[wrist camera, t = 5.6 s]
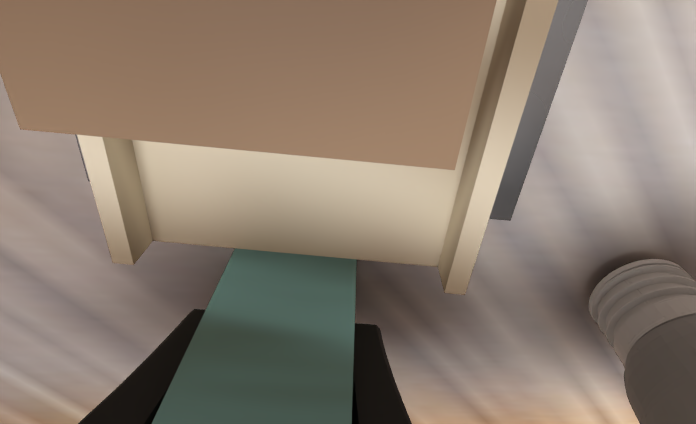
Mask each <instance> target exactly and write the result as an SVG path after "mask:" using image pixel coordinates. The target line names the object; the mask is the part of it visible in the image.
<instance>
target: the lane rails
mask: <svg viewBox="0 0 696 424" xmlns="http://www.w3.org/2000/svg"><path fill="white" fill-rule="evenodd" d="M587 1H588V0H558V3H557V7H556V10H555V13H554V16H553V19H552V22H551V25H550V29H549V32H548V35H547V38H546V41H545V44H544V47H543V51H542V54H541V57H540V60H539V63H538V66H537V69H536V73H535V76H534V79H533V82H532V85H531V88H530V91H529V95H528V98H527V101H526V104H525V107H524V110H523V113H522V117H521V120H520V123H519V126H518V129H517V132H516V135H515V139H514V142H513V145H512V148H511V151H510V154H509V157H508V161H507V164H506V167H505V170H504V173H503V176H502V180H501V183H500V186H499V189H498V192H497V195H496V198H495V202H494V205H493V208H492V211H491V214H490V217H489V219H498V220H509V221H510V220H511V217H512V214H513V212H514V209H515V206H516V203H517V200H518V197H519V195H520V192H521V189H522V186H523V183H524V180H525V178H526V175H527V172H528V169H529V166H530V163H531V160H532V158H533V155H534V152H535V149H536V146H537V143H538V141H539V138H540V135H541V132H542V129H543V126H544V124H545V121H546V118H547V115H548V112H549V109H550V106H551V104H552V101H553V98H554V95H555V92H556V89H557V87H558V84H559V81H560V78H561V75H562V72H563V70H564V67H565V64H566V61H567V58H568V55H569V53H570V50H571V47H572V44H573V41H574V38H575V35H576V33H577V30H578V27H579V24H580V21H581V18H582V16H583V13H584V10H585V7H586V4H587ZM75 135H76V134H75ZM76 139H77V142H78V146H79V150H80V153H81V157H82V160H83V164H84V167H85V171H86V174H87V178H88V181H89V182H90V180H89V176H88V173H87V169H86V165H85V162H84V158H83V155H82V151H81V148H80V144H79V140H78V137H77V135H76Z"/></svg>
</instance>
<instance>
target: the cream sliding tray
mask: <svg viewBox="0 0 696 424" xmlns="http://www.w3.org/2000/svg"><path fill="white" fill-rule="evenodd" d="M557 3H558V0H497V1H496V5H495V9H494V13H493V18H492V22H491V26H490V30H489V34H488V38H487V42H486V46H485V50H484V54H483V58H482V62H481V66H480V70H479V74H478V78H477V82H476V86H475V90H474V94H473V99H472V103H471V107H470V111H469V115H468V119H467V123H466V127H465V131H464V135H463V139H462V143H461V147H460V151H459V155H458V159H457V163H456V167H455V170H446V169H436V168H425V167H415V166H404V165H393V164H383V163H372V162H362V161H351V160H340V159H330V158H319V157H309V156H298V155H287V154H277V153H266V152H256V151H245V150H235V149H224V148H213V147H203V146H192V145H182V144H171V143H160V142H150V141H139V140H129V139H118V138H107V137H97V136H86V135H77V137H78V140H79V144H80V148H81V151H82V155H83V158H84V162H85V165H86V169H87V173H88V176H89V180H90V183H91V187H92V190H93V194H94V198H95V201H96V205H97V208H98V212H99V215H100V219H101V223H102V226H103V230H104V233H105V237H106V240H107V244H108V248H109V251H110V255H111V258H112V262H113V263H119V264H130V265H134V264H135V263H136V261H137V260H138V259H139V258H140V256H141V255H142V254H143V253H144V251H145V250H146V249H147V248H148V246H149V245H150V244H151V242H152V241H161V242H172V243H183V244H193V245H204V246H215V247H226V248H235V249H234V252H233V254H232V256H231V258H230V260H229V262H228V264H227V266H226V268H225V270H224V273H223V275H222V277H221V279H220V281H219V283H218V285H217V287H216V289H215V292H214V294H213V296H212V298H211V300H210V302H209V304H208V306H207V308H206V310H205V313H204V315H203V317H202V319H201V321H200V323H199V325H198V327H197V329H196V331H195V334H194V336H193V338H192V340H191V342H190V344H189V346H188V348H187V350H186V352H185V355H184V357H183V359H182V361H181V363H180V365H179V367H178V369H177V371H176V373H175V376H174V378H173V380H172V382H171V384H170V386H169V388H168V390H167V392H166V394H165V397H164V399H163V401H162V403H161V405H160V407H159V409H158V411H157V413H156V416H155V418H154V420H153V422H152V424H352V396H353V363H354V330H355V297H356V264H357V259H358V260H368V261H379V262H390V263H401V264H412V265H423V266H434V267H438V270H439V274H440V278H441V282H442V286H443V290H444V293H450V294H461V295H465V293H466V290H467V286H468V283H469V280H470V277H471V274H472V271H473V268H474V264H475V261H476V258H477V255H478V252H479V249H480V246H481V242H482V239H483V236H484V233H485V230H486V227H487V224H488V220H489V217H490V214H491V211H492V208H493V205H494V202H495V198H496V195H497V192H498V189H499V186H500V183H501V180H502V176H503V173H504V170H505V167H506V164H507V161H508V157H509V154H510V151H511V148H512V145H513V142H514V139H515V135H516V132H517V129H518V126H519V123H520V120H521V117H522V113H523V110H524V107H525V104H526V101H527V98H528V95H529V91H530V88H531V85H532V82H533V79H534V76H535V73H536V69H537V66H538V63H539V60H540V57H541V54H542V51H543V47H544V44H545V41H546V38H547V35H548V32H549V29H550V25H551V22H552V19H553V16H554V13H555V10H556V7H557Z"/></svg>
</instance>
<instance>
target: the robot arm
mask: <svg viewBox="0 0 696 424" xmlns="http://www.w3.org/2000/svg"><path fill="white" fill-rule="evenodd" d="M204 313H205V310H200V309H194V310H193V311H191V312H190V313H189V314H188V315H187V317H186V318H185V319H184V320H183V321H182V322H181V323H180V324H179V325H178V326H177V327H176V328H175V330H174V331H173V332H172V333H171V334H170V335H169V336H168V337H167V338H166V339H165V340H164V341H163V342H162V343H161V344H160V345H159V346H158V347H157V348H156V349H155V351H154V352H153V353H152V354H151V355H150V356H149V357H148V358H147V359H146V360H145V361H144V362H143V363H142V364H141V365H140V366H139V367H138V368H137V369H136V370H135V371H134V372H133V373H132V374H131V375H130V376H129V377H128V378H127V379H126V380H125V381H124V382H123V383H121V384H120V385H119V386H118V387H117V388H116V389H115V390H114V391H113V392H112V393H111V394H110V395H109V396H108V397H107V398H105V399H104V400H103V401H102V402H101V403H100V404H99V405H98V406H97V407H96V408H95V409H93V410H92V411H91V412H90V413H89V414H88V415H87V416H86V417H85V418H84V419H83V420H81V421H80V422H79V423H78V424H152V422H153V420H154V418H155V416H156V413H157V411H158V409H159V407H160V405H161V403H162V401H163V399H164V397H165V394H166V392H167V390H168V388H169V386H170V384H171V382H172V380H173V378H174V376H175V373H176V371H177V369H178V367H179V365H180V363H181V361H182V359H183V357H184V355H185V352H186V350H187V348H188V346H189V344H190V342H191V340H192V338H193V336H194V334H195V331H196V329H197V327H198V325H199V323H200V321H201V319H202V317H203V315H204ZM352 424H412V423H411V421H410V418H409V416H408V414H407V411H406V408H405V406H404V403H403V401H402V398H401V396H400V393H399V391H398V388H397V385H396V383H395V380H394V377H393V374H392V371H391V368H390V365H389V362H388V359H387V355H386V352H385V348H384V345H383V341H382V336H381V331H380V328H379V327H378V326H377V325H370V324H358V323H355V330H354V363H353V396H352Z"/></svg>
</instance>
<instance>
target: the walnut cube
mask: <svg viewBox="0 0 696 424" xmlns="http://www.w3.org/2000/svg"><path fill="white" fill-rule="evenodd" d="M496 1H497V0H0V74H1V77H2V79H3V82H4V85H5V88H6V91H7V93H8V96H9V99H10V102H11V105H12V108H13V110H14V113H15V116H16V119H17V122H18V125H19V127H20V129H23V130H33V131H44V132H54V133H65V134H76V135H86V136H97V137H107V138H118V139H129V140H139V141H150V142H160V143H171V144H182V145H192V146H203V147H213V148H224V149H235V150H245V151H256V152H266V153H277V154H287V155H298V156H309V157H319V158H330V159H340V160H351V161H362V162H372V163H383V164H393V165H404V166H415V167H425V168H436V169H446V170H455V167H456V163H457V159H458V155H459V151H460V147H461V143H462V139H463V135H464V131H465V127H466V123H467V119H468V115H469V111H470V107H471V103H472V99H473V94H474V90H475V86H476V82H477V78H478V74H479V70H480V66H481V62H482V58H483V54H484V50H485V46H486V42H487V38H488V34H489V30H490V26H491V22H492V18H493V13H494V9H495V5H496Z"/></svg>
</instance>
